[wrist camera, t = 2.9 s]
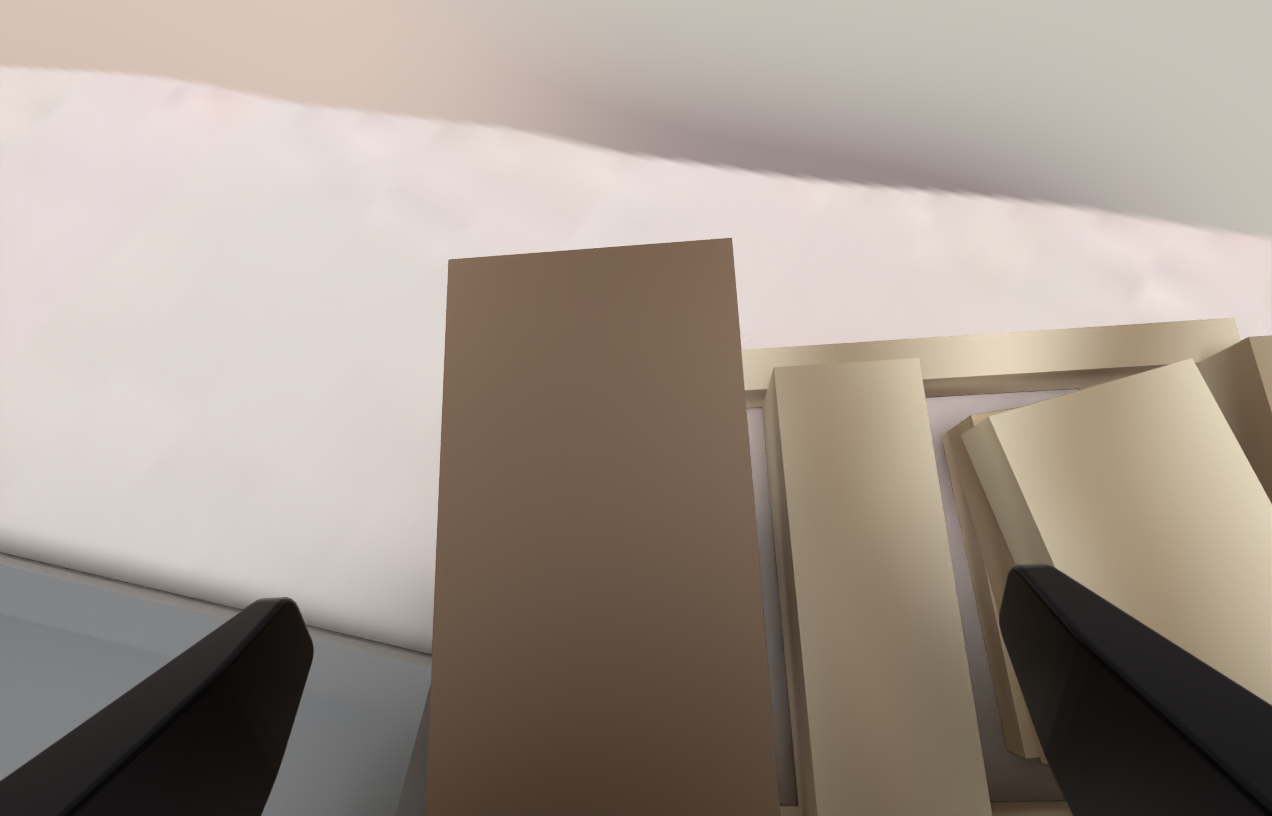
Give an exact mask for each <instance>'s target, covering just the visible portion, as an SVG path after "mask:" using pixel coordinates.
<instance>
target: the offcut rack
mask: <svg viewBox="0 0 1272 816" xmlns="http://www.w3.org/2000/svg"><path fill="white" fill-rule="evenodd" d="M741 352H742V364H743V375H744V387H745V399H746V408H756V407H762V412H763V423H764V434H765V444H766V455H767V466H768V477H769V488H770V499H771V510H772V521H773V532H774V543H775V554H776V565H777V576H778V587H779V598H780V609H781V620H782V631H783V641H784V652H785V663H786V674H787V685H788V696H789V707H790V718H791V729H792V740H793V751H794V762H795V773H796V784H797V795H798V806H781V807H780V812H781V816H1073V815H1072V813H1071V811H1070V809H1069V807H1068V805H1067V802H1066V801H1041V802H990V798H989V791H988V785H987V779H986V773H985V767H984V760H983V754H982V748H981V742H980V735H979V729H978V723H977V717H976V710H975V704H974V698H973V692H972V685H971V679H970V673H969V667H968V660H967V654H966V648H965V642H964V635H963V629H962V623H961V617H960V610H959V604H958V598H957V592H956V586H955V579H954V573H953V567H952V561H951V554H950V548H949V542H948V536H947V529H946V523H945V517H944V511H943V504H942V498H941V492H940V486H939V479H938V473H937V467H936V461H935V454H934V448H933V442H932V436H931V429H930V423H929V417H928V411H927V405H926V398H925V397H941V396H957V395H974V394H991V393H1008V392H1024V391H1041V390H1058V389H1075V388H1090V387H1093V386H1097V385H1100V384H1104V383H1107V382H1111V381H1114V380H1118V379H1121V378H1125V377H1128V376H1132V375H1135V374H1139V373H1142V372H1145V371H1149V370H1152V369H1156V368H1159V367H1163V366H1166V365H1170V364H1173V363H1177V362H1180V361H1184V360H1187V359H1191V358H1192V359H1193V360H1194V362H1195V364H1196V366H1197V368H1198V370H1199V371H1200V373H1201V375H1202V377H1203V379H1204V381H1205V382H1206V384H1207V386H1208V388H1209V390H1210V392H1211V393H1212V395H1213V397H1214V399H1215V401H1216V403H1217V404H1218V406H1219V408H1220V410H1221V412H1222V414H1223V415H1224V417H1225V419H1226V421H1227V423H1228V425H1229V426H1230V428H1231V430H1232V432H1233V434H1234V436H1235V437H1236V439H1237V441H1238V443H1239V445H1240V447H1241V449H1242V450H1243V452H1244V454H1245V456H1246V458H1247V460H1248V461H1249V463H1250V465H1251V467H1252V469H1253V471H1254V472H1255V474H1256V476H1257V478H1258V480H1259V482H1260V483H1261V485H1262V487H1263V489H1264V491H1265V493H1266V494H1267V496H1268V498H1269V500H1270V502H1271V504H1272V336H1257V337H1248V338H1246V339H1244V340H1242V341H1241V339H1240V336H1239V333H1238V329H1237V326H1236V323H1235V319H1234V318H1223V319H1208V320H1193V321H1178V322H1162V323H1147V324H1132V325H1117V326H1101V327H1086V328H1071V329H1056V330H1040V331H1025V332H1010V333H994V334H979V335H964V336H949V337H933V338H918V339H903V340H888V341H872V342H857V343H842V344H827V345H811V346H796V347H781V348H766V349H750V350H741Z"/></svg>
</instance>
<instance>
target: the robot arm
mask: <svg viewBox="0 0 1272 816" xmlns="http://www.w3.org/2000/svg"><path fill="white" fill-rule="evenodd" d="M999 626H1000V631H1001V635H1002V638H1003V641H1004V643H1005V646H1006V649H1007V652H1008V655H1009V658H1010V660H1011V663H1012V666H1013V669H1014V672H1015V675H1016V677H1017V680H1018V683H1019V686H1020V689H1021V692H1022V694H1023V697H1024V700H1025V703H1026V706H1027V709H1028V712H1029V714H1030V717H1031V720H1032V723H1033V726H1034V729H1035V731H1036V734H1037V737H1038V739H1039V742H1040V745H1041V747H1042V750H1043V753H1044V755H1045V757H1046V760H1047V762H1048V764H1049V766H1050V768H1051V771H1052V773H1053V775H1054V777H1055V779H1056V781H1057V784H1058V786H1059V788H1060V790H1061V792H1062V794H1063V796H1064V798H1065V800H1066V802H1067V805H1068V807H1069V809H1070V811H1071V813H1072V815H1073V816H1272V705H1271V704H1270V703H1268V702H1266V701H1265V700H1263V699H1262V698H1260V697H1258V696H1257V695H1255V694H1254V693H1252V692H1251V691H1249V690H1247V689H1246V688H1244V687H1243V686H1241V685H1240V684H1238V683H1236V682H1235V681H1233V680H1232V679H1230V678H1229V677H1227V676H1225V675H1224V674H1222V673H1221V672H1219V671H1218V670H1216V669H1214V668H1213V667H1211V666H1210V665H1208V664H1206V663H1205V662H1203V661H1202V660H1200V659H1199V658H1197V657H1195V656H1194V655H1192V654H1191V653H1189V652H1188V651H1186V650H1184V649H1183V648H1181V647H1180V646H1178V645H1177V644H1175V643H1173V642H1172V641H1170V640H1169V639H1167V638H1165V637H1164V636H1162V635H1161V634H1159V633H1158V632H1156V631H1154V630H1153V629H1151V628H1150V627H1148V626H1147V625H1145V624H1143V623H1142V622H1140V621H1139V620H1137V619H1136V618H1134V617H1132V616H1131V615H1129V614H1128V613H1126V612H1125V611H1123V610H1121V609H1120V608H1118V607H1117V606H1115V605H1114V604H1112V603H1110V602H1109V601H1107V600H1106V599H1104V598H1102V597H1101V596H1099V595H1098V594H1096V593H1095V592H1093V591H1091V590H1090V589H1088V588H1087V587H1085V586H1084V585H1082V584H1080V583H1079V582H1077V581H1076V580H1074V579H1073V578H1071V577H1069V576H1068V575H1066V574H1065V573H1063V572H1061V571H1060V570H1058V569H1057V568H1055V567H1053V566H1051V565H1049V564H1044V563H1038V564H1018V565H1015V566H1013V567H1011V569H1010V570H1009V572H1008V575H1007V579H1006V584H1005V588H1004V593H1003V598H1002V602H1001V607H1000V612H999ZM313 655H314V646H313V641H312V638H311V636H310V634H309V631H308V629H307V627H306V624H305V622H304V620H303V617H302V615H301V613H300V610H299V608H298V606H297V604H296V602H295V601H293V600H292V599H291V598H287V597H281V598H263V599H259V600H257V601H255V602H253V603H252V604H250V605H249V606H248V607H246V608H245V609H243V610H242V611H240V612H239V613H238V614H236V615H235V616H233V617H232V618H231V619H229V620H228V621H226V622H225V623H223V624H222V625H221V626H219V627H218V628H216V629H215V630H214V631H212V632H211V633H209V634H208V635H206V636H205V637H204V638H202V639H201V640H199V641H198V642H197V643H195V644H194V645H192V646H191V647H189V648H188V649H187V650H185V651H184V652H182V653H181V654H179V655H178V656H177V657H175V658H174V659H172V660H171V661H170V662H168V663H167V664H165V665H164V666H162V667H161V668H160V669H158V670H157V671H155V672H154V673H153V674H151V675H150V676H148V677H147V678H145V679H144V680H143V681H141V682H140V683H138V684H137V685H135V686H134V687H133V688H131V689H130V690H128V691H127V692H126V693H124V694H123V695H121V696H120V697H118V698H117V699H116V700H114V701H113V702H111V703H110V704H108V705H107V706H106V707H104V708H103V709H101V710H100V711H99V712H97V713H96V714H94V715H93V716H91V717H90V718H89V719H87V720H86V721H84V722H83V723H82V724H80V725H79V726H77V727H76V728H74V729H73V730H72V731H70V732H69V733H67V734H66V735H64V736H63V737H62V738H60V739H59V740H57V741H56V742H55V743H53V744H52V745H50V746H49V747H47V748H46V749H45V750H43V751H42V752H40V753H39V754H38V755H36V756H35V757H33V758H32V759H30V760H29V761H28V762H26V763H25V764H23V765H22V766H20V767H19V768H18V769H16V770H15V771H13V772H12V773H11V774H9V775H8V776H6V777H5V778H3V779H2V780H1V781H0V816H261V815H262V813H263V810H264V808H265V805H266V803H267V801H268V798H269V796H270V793H271V791H272V788H273V785H274V783H275V780H276V778H277V775H278V772H279V769H280V766H281V763H282V760H283V757H284V754H285V751H286V748H287V744H288V741H289V738H290V734H291V731H292V728H293V724H294V721H295V718H296V714H297V711H298V708H299V705H300V701H301V698H302V695H303V691H304V688H305V685H306V681H307V678H308V675H309V671H310V668H311V665H312V661H313Z"/></svg>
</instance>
